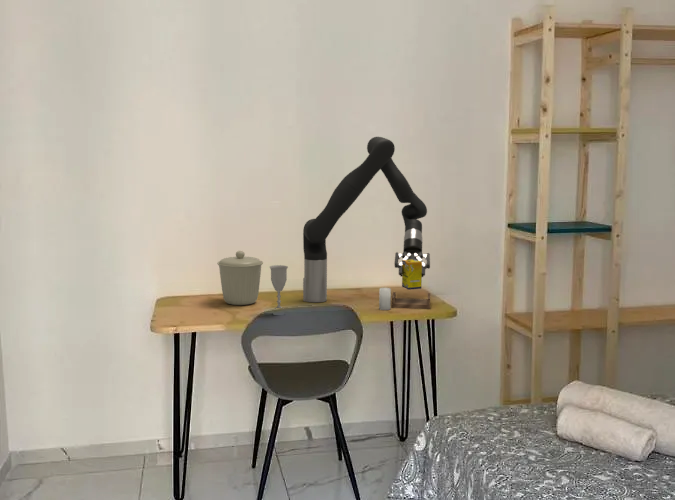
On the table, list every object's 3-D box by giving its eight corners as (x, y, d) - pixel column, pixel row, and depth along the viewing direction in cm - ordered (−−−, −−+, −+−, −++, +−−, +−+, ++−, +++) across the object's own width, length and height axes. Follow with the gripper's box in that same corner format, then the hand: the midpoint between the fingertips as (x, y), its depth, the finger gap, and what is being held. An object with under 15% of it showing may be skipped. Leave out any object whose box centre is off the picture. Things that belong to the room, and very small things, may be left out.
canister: (260, 297, 315) (260, 247, 312) (265, 306, 298) (265, 253, 295) (216, 298, 312) (215, 248, 309) (219, 308, 294) (218, 254, 291)
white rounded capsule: (378, 309, 294) (379, 289, 293) (379, 307, 298) (379, 287, 297) (390, 310, 294) (390, 289, 292) (390, 307, 298) (391, 287, 297)
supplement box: (401, 287, 303) (401, 260, 302) (415, 285, 306) (415, 259, 304) (408, 289, 298) (408, 262, 296) (421, 288, 300) (422, 261, 298)
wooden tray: (391, 307, 298) (391, 297, 298) (392, 301, 309) (393, 292, 308) (430, 308, 296) (430, 298, 296) (430, 302, 307) (430, 293, 307)
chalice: (290, 315, 284) (290, 267, 281) (273, 316, 281) (272, 268, 279) (284, 311, 290) (284, 264, 288) (267, 312, 288) (267, 265, 285)
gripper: (395, 236, 307) (393, 269, 297) (430, 237, 305) (430, 270, 296) (395, 247, 313) (394, 280, 303) (430, 248, 311) (429, 281, 302)
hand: (411, 275), depth 300 cm, fingers closed on supplement box, 8 cm apart
